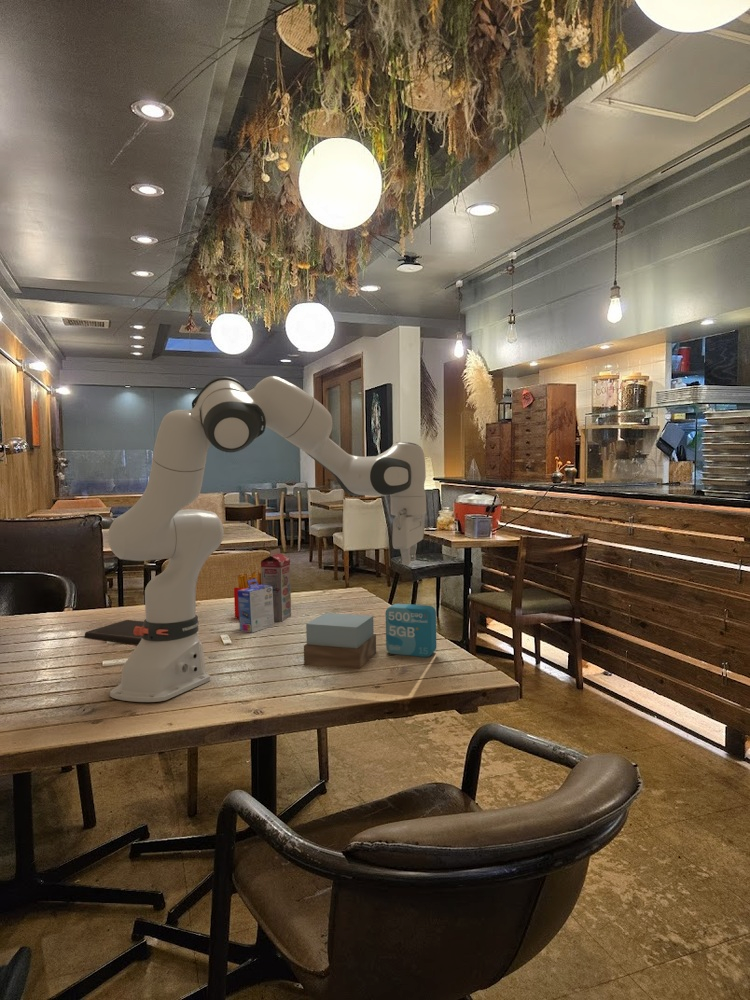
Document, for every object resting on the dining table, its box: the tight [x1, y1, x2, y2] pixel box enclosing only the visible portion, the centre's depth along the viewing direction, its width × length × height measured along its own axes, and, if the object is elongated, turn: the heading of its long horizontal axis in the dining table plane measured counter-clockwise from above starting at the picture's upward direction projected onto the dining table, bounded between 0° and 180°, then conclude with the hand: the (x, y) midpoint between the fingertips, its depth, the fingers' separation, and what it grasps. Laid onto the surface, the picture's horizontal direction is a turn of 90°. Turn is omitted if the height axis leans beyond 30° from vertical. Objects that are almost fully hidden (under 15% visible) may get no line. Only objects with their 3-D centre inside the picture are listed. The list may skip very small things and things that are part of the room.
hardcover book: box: [84, 619, 144, 646], centre depth 187 cm, size 16×23×2 cm
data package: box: [385, 603, 437, 658], centre depth 163 cm, size 12×4×12 cm, turn 69°
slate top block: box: [305, 612, 375, 648], centre depth 160 cm, size 12×13×5 cm
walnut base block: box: [303, 633, 377, 669], centre depth 161 cm, size 14×14×5 cm
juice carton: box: [260, 547, 292, 622], centre depth 202 cm, size 7×7×22 cm
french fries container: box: [233, 571, 262, 620], centre depth 205 cm, size 7×9×14 cm
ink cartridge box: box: [238, 578, 275, 634], centre depth 191 cm, size 10×6×14 cm, turn 147°
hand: (408, 562), depth 163 cm, fingers open, 5 cm apart
